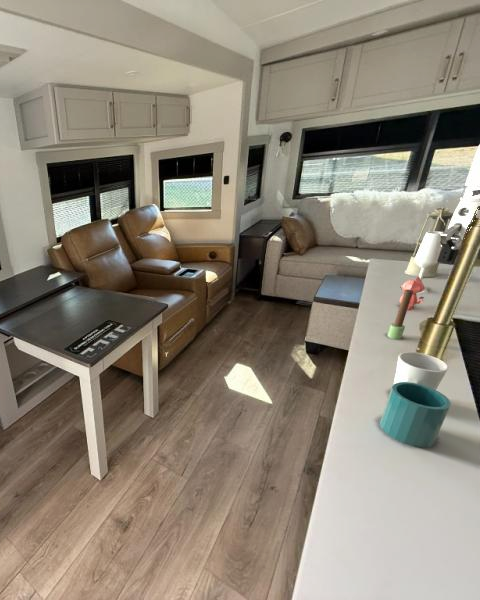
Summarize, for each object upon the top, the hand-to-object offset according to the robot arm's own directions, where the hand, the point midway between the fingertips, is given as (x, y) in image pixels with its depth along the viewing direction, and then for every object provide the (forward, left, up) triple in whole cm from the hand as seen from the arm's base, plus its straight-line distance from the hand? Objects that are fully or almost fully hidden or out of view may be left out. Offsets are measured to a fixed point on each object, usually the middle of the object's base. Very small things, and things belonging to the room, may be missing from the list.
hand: (460, 260), depth 83 cm
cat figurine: (-9, -32, -28) cm, 44 cm away
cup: (+16, +26, -28) cm, 42 cm away
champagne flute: (-20, -51, -28) cm, 62 cm away
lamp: (-30, -71, -28) cm, 82 cm away
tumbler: (+21, +38, -28) cm, 52 cm away
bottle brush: (+5, -6, -28) cm, 29 cm away
